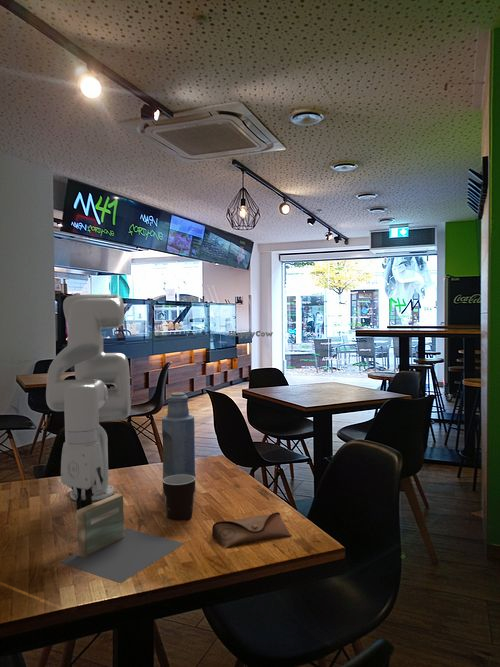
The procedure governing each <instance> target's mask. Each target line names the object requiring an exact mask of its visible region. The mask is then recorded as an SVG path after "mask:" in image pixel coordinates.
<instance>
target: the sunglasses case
mask: <svg viewBox="0 0 500 667" xmlns="http://www.w3.org/2000/svg"><path fill="white" fill-rule="evenodd" d="M211 534H212V535H213V536H214V537H213V539H215V541H216V542H217V543H218V544H219V545H220V546H221V547H222V548H223V549H225V550H227V549H230V548H234V547H235V548H236V547H238V546H242V545H248V544H252V543H258V542H263V541H268V540H269V541H271V540H274V539H275V540H276V539H281V538H289V537H292V536H293V535H292V534H291V533H289V530H288V528H287V527H286V525H285V522H284V520H283V519H282V516H281V513H280V512H278V511H277V512H276V511H275V512H273V513H270V514H264V515H263V514H262V515H256V516H251V517H250V516H249V517H244V518H239V519H238V518H237V519H234V520H233V519H232V520H221V521H216V522H215V523H214V524H213V525H212V528H211Z"/></svg>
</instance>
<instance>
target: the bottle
mask: <svg viewBox="0 0 500 667" xmlns="http://www.w3.org/2000/svg"><path fill="white" fill-rule="evenodd" d="M188 400H189V397H188V395H186V393H185V392H181V391H180V392H178V391H177V392H171V393H170V395H169V396H168V397H167V411H166V412H167V413H166V415H165V416H162V418H161V435H162V436H161V437H162V480H163V479H164V478H165V477H168V476H172V475H180V474H184V475H191V476H194V477H195V478H196V461H195V460H196V455H195V454H196V451H195V449H196V448H195V447H196V446H195V440H196V439H195V432H196V431H195V430H196V429H195V416H194V415H193V414H190V411H189V403H188ZM162 491H163V492H162V493H163V494H164V490H163V489H162ZM195 492H196V488H195V489H194V493H195Z"/></svg>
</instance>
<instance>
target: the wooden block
mask: <svg viewBox="0 0 500 667" xmlns="http://www.w3.org/2000/svg"><path fill="white" fill-rule="evenodd" d="M124 512H125V511H124V495H123V494H120V493H115V494H112V495H111V496H109V497H107V498H104V499H100V500H97V501H95V502H92V504H91V505H89V506H86V507H84V508H81V509H79V510H77V509H76V536H77V538H76V539H77V553H78V556H81V557H86V556H88V555H90V554H92V553H94V552H96V551H98V550H100V549H102V548H104V547H105V546H107V545H109V544H111V543H113V542H115V541H117V540H119V539H121V538H123V537H124V530H125V517H124V516H125V515H124Z"/></svg>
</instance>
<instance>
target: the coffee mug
mask: <svg viewBox="0 0 500 667" xmlns="http://www.w3.org/2000/svg"><path fill="white" fill-rule="evenodd" d="M161 482H162V491H163V490H164V493H163V496H164V502H165V509H166V517H167V519H168V520H171V521H175V522H176V521H179V522H180V521H190V520H191V519H192V518H193V512H194V511H193V510H194V497H195V492H194V489H195V490H196V476H195V477H194V476H191V475H184V474H180V475H172V476H168V477H165V478H164V479H163V478H162V481H161Z"/></svg>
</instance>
